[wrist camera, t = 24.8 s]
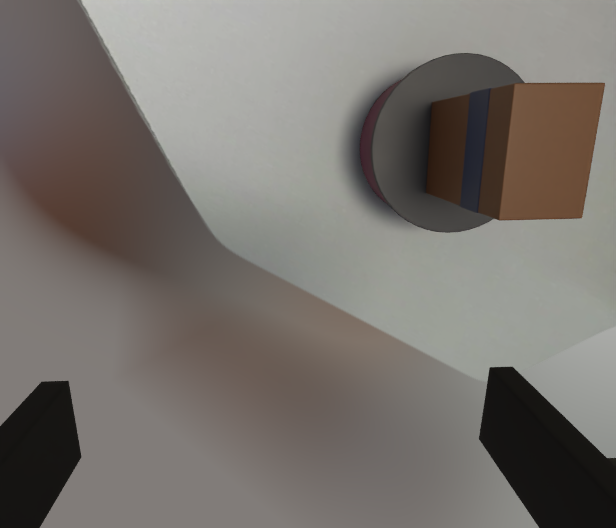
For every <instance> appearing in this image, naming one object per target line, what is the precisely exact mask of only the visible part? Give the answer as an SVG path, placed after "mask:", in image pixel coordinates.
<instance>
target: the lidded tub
mask: <svg viewBox="0 0 616 528" xmlns="http://www.w3.org/2000/svg"><path fill="white" fill-rule="evenodd" d="M514 83H524V81H523V80H522V79H521V78H520V77H519V76H518V75H517V74H516V73H515V72H514V71H513V70H512V69H510V68H509V67H508V66H506V65H505V64H503V63H501V62H500V61H497V60H495V59H493V58H490V57H487V56H483V55H479V54H471V53H459V54H451V55H446V56H442V57H439V58H436V59H433V60H431V61H429V62H427V63H425V64H423V65H421V66H419V67H417V68H416V69H415V70H413V71H412V72H410V73H409V74H408V75H406V76H405V77H404V78H403V79H401V80H399V81H398V82H396V83H395V84H393V85H392V86H390V87H389V88H388V89H387V90H386V91H385V92H383V93H382V95H381V96H380V97H379V98H378V99H377V100H376V102H375V103H374V105H373V106H372V108H371V109H370V111H369V113H368V115H367V117H366V120H365V122H364V125H363V129H362V133H361V138H360V159H361V165H362V168H363V172H364V175H365V177H366V179H367V181H368V183H369V185H370V186H371V188H372V189H373V191H374V192H375V193H376V194H377V195H378V196H379V197H380V198H381V199H382V200H383V201H384V202H386V203H387V204H388V205H389V206H390V207H391V208H392V209H393V210H394V211H395V212H396V213H397V214H398V215H400V216H401V217H403V218H404V219H405V220H407V221H408V222H410V223H412V224H414V225H416V226H418V227H421V228H424V229H427V230H431V231H436V232H460V231H465V230H469V229H472V228H475V227H478V226H481V225H483V224H485V223H487V222H489V221H491V220H492V219H494V218H492V217H489V216H486V215H484V214H477V213H475V212H472V211H470V210H467V209H464V208H462V207H460V206H459V205H457V204H454V203H451V202H448V201H446V200H443V199H440V198H438V197H435V196H432V195H430V194H427V193H426V185H427V170H428V155H429V140H430V125H431V110H432V102H435V101H439V100H444V99H448V98H452V97H457V96H461V95H466V94H470V93H471V92H474V91H478V90H482V89H487V88H496V87H500V86H505V85H509V84H514Z"/></svg>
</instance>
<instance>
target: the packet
mask: <svg viewBox="0 0 616 528" xmlns="http://www.w3.org/2000/svg"><path fill="white" fill-rule="evenodd" d="M604 87H605V83H514V84H509V85H505V86H500V87H496V88H487V89H482V90H478V91H474V92H471V93H470V94H466V95H461V96H457V97H452V98H448V99H444V100H439V101H435V102H432V110H431V125H430V140H429V155H428V170H427V185H426V193H427V194H430V195H432V196H435V197H438V198H440V199H443V200H446V201H448V202H451V203H454V204H457V205H459V206H460V207H462V208H464V209H467V210H470V211H472V212H475V213H477V214H484V215H486V216H489V217H492V218H494V219H497V220H534V219H574V218H582V215H583V209H584V203H585V197H586V192H587V186H588V180H589V174H590V168H591V162H592V157H593V151H594V145H595V139H596V133H597V127H598V122H599V116H600V110H601V104H602V98H603V92H604Z"/></svg>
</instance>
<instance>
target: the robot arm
mask: <svg viewBox="0 0 616 528" xmlns="http://www.w3.org/2000/svg"><path fill="white" fill-rule="evenodd" d="M479 440H480V441H481V443H482V444H483V445H484V447H485V448H486V450H487V451H488V453H489V454H490V456H491V457H492V459H493V460H494V462H495V463H496V465H497V466H498V467H499V469H500V471H501V472H502V473H503V475H504V476H505V477H506V479H507V481H508V482H509V484H510V485H511V487H512V488H513V490H514V491H515V493H516V494H517V496H518V497H519V498H520V500H521V501H522V503H523V504H524V506H525V507H526V509H527V510H528V512H529V513H530V515H531V516H532V518H533V519H534V521H535V522H536V524H537V525H538V526H539V528H616V458H606V457H605V456H604V455H603V454H602V453H601V452H600V451H599V450H598V449H597V448H596V447H595V446H594V445H593V444H592V443H591V442H590V441H588V439H587V438H586V437H584V436H583V435H582V434H581V433H580V432H579V431H578V430H577V429H576V428H575V427H574V426H573V425H572V424H571V423H570V422H569V421H568V420H567V419H566V418H565V417H564V416H563V415H562V414H561V413H560V412H559V411H558V410H557V409H556V408H555V407H554V406H552V405H551V404H550V403H549V402H548V401H547V400H546V399H545V398H544V397H543V396H542V395H541V394H540V393H539V392H538V391H537V390H536V389H535V388H534V387H533V386H532V385H531V384H530V383H529V382H528V381H526V379H524V378H523V377H522V376H521V375H520V374H519V373H518V372H517V371H516V370H515V369H514V368H513V367H490V370H489V376H488V383H487V389H486V396H485V403H484V409H483V416H482V423H481V429H480V436H479ZM80 458H81V452H80V446H79V440H78V434H77V428H76V423H75V416H74V411H73V405H72V399H71V393H70V387H69V382H68V381H51V382H41V383H40V384H39V385H38V386H37V387H36V389H35V390H34V391H33V392H32V393H31V394H30V395H29V396H28V397H27V398H26V399H25V401H23V402H22V404H21V405H20V406H19V407H18V408H17V409H16V410H15V411H14V412H13V413H12V414H11V415H10V416H9V418H8V419H7V420H6V421H5V422H4V423H3V424H2V425H1V426H0V528H40V526H41V524H42V523H43V521H44V519H45V518H46V516H47V514H48V513H49V511H50V509H51V507H52V506H53V504H54V502H55V501H56V499H57V497H58V496H59V494H60V492H61V491H62V489H63V487H64V486H65V484H66V482H67V480H68V479H69V477H70V475H71V474H72V472H73V470H74V469H75V467H76V465H77V463H78V462H79V460H80Z"/></svg>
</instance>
